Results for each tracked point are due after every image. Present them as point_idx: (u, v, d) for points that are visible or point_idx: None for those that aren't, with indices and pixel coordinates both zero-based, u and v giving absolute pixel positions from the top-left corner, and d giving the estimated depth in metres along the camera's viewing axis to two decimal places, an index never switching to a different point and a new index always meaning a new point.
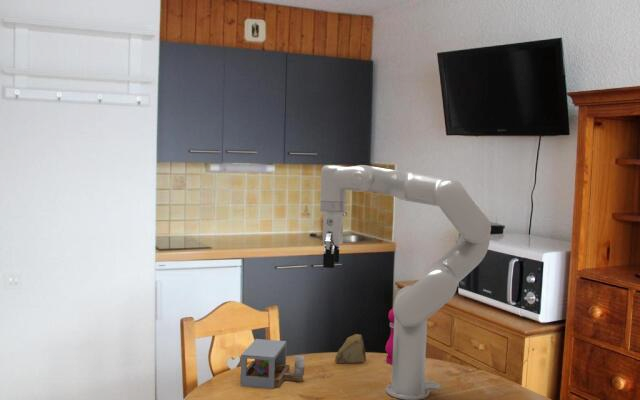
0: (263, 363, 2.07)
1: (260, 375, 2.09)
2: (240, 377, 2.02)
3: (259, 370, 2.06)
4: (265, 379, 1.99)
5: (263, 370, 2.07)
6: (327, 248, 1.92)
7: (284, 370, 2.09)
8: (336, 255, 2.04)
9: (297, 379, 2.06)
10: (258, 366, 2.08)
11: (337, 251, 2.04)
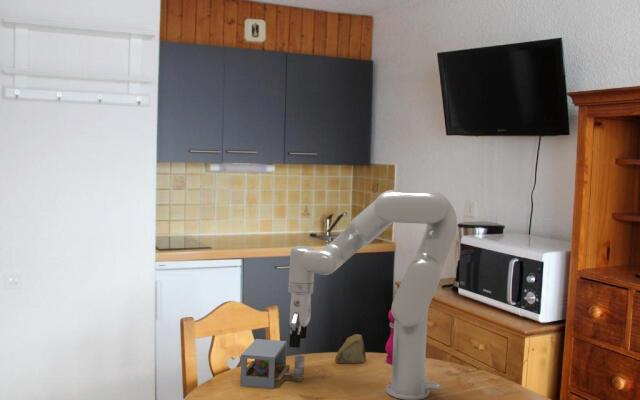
0: (263, 363, 2.07)
1: (260, 375, 2.09)
2: (240, 377, 2.02)
3: (259, 370, 2.06)
4: (265, 379, 1.99)
5: (263, 370, 2.07)
6: (293, 329, 1.98)
7: (284, 370, 2.09)
8: (303, 332, 2.10)
9: (297, 379, 2.06)
10: (258, 366, 2.08)
11: (304, 328, 2.10)
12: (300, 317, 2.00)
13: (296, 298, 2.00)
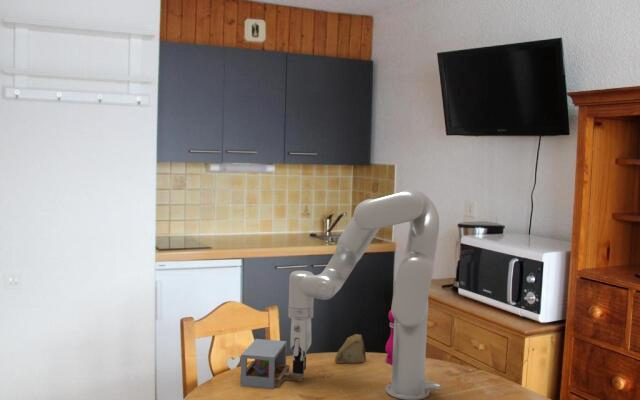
0: (263, 363, 2.07)
1: (260, 375, 2.09)
2: (240, 377, 2.02)
3: (259, 370, 2.06)
4: (265, 379, 1.99)
5: (263, 370, 2.07)
6: (296, 357, 2.02)
7: (284, 370, 2.09)
8: None
9: (297, 379, 2.06)
10: (258, 366, 2.08)
11: None
12: (301, 342, 2.00)
13: (296, 323, 2.01)
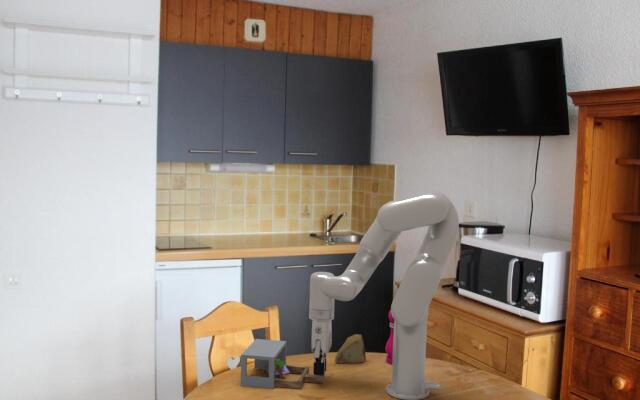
0: (275, 365, 2.05)
1: None
2: None
3: None
4: (265, 379, 1.99)
5: (275, 372, 2.05)
6: (317, 359, 2.01)
7: (304, 372, 2.08)
8: None
9: (318, 381, 2.05)
10: None
11: None
12: (322, 344, 1.99)
13: (317, 325, 2.00)
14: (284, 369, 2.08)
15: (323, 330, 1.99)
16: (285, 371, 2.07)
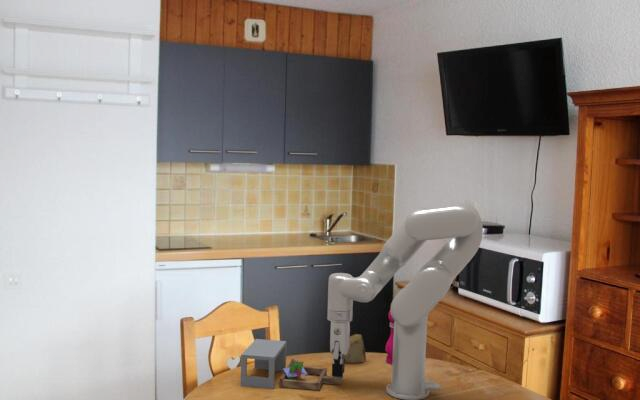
0: (293, 366, 2.05)
1: (291, 378, 2.07)
2: None
3: (288, 373, 2.04)
4: (265, 379, 1.99)
5: (293, 373, 2.04)
6: (336, 360, 2.00)
7: (322, 373, 2.07)
8: None
9: (336, 382, 2.04)
10: (289, 369, 2.06)
11: None
12: (341, 345, 1.99)
13: (336, 326, 1.99)
14: (302, 371, 2.07)
15: (342, 331, 1.98)
16: (303, 373, 2.06)
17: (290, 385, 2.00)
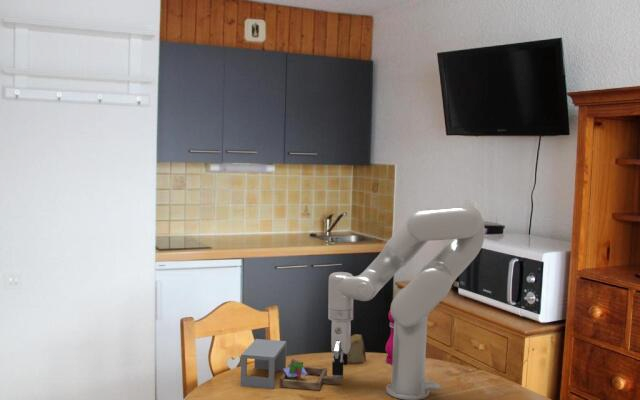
0: (293, 366, 2.05)
1: (292, 378, 2.06)
2: None
3: (288, 373, 2.04)
4: (265, 379, 1.99)
5: (293, 374, 2.04)
6: (336, 357, 1.96)
7: (322, 373, 2.07)
8: (344, 358, 2.08)
9: (336, 382, 2.04)
10: (289, 369, 2.06)
11: (345, 354, 2.08)
12: (342, 344, 1.98)
13: (337, 325, 1.99)
14: (302, 371, 2.07)
15: (343, 330, 1.98)
16: (303, 373, 2.06)
17: (290, 385, 2.00)
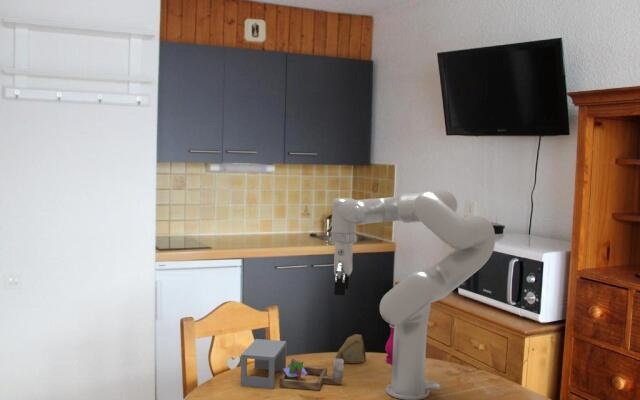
0: (293, 366, 2.05)
1: (292, 378, 2.07)
2: None
3: (288, 373, 2.04)
4: (265, 379, 1.99)
5: (293, 374, 2.04)
6: (338, 277, 2.04)
7: (322, 373, 2.07)
8: (346, 282, 2.16)
9: (336, 382, 2.04)
10: (289, 369, 2.06)
11: (347, 278, 2.16)
12: (344, 265, 2.06)
13: (340, 247, 2.07)
14: (302, 371, 2.07)
15: (345, 252, 2.06)
16: (303, 373, 2.06)
17: (290, 385, 2.00)
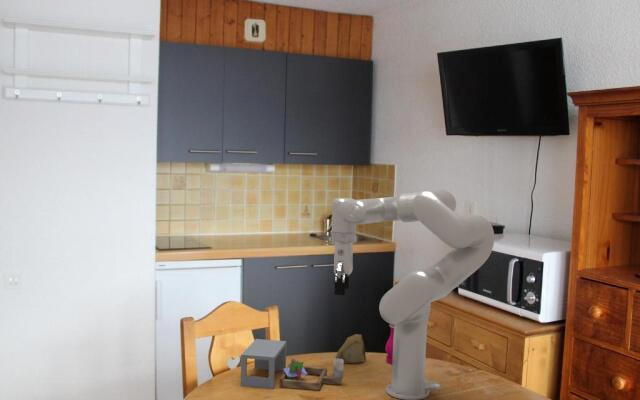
0: (293, 366, 2.05)
1: (292, 378, 2.07)
2: None
3: (288, 373, 2.04)
4: (265, 379, 1.99)
5: (293, 374, 2.04)
6: (338, 277, 2.05)
7: (322, 373, 2.07)
8: (346, 282, 2.17)
9: (336, 382, 2.04)
10: (289, 369, 2.06)
11: (347, 278, 2.17)
12: (344, 265, 2.07)
13: (340, 247, 2.07)
14: (302, 371, 2.07)
15: (345, 252, 2.07)
16: (303, 373, 2.06)
17: (290, 385, 2.00)
